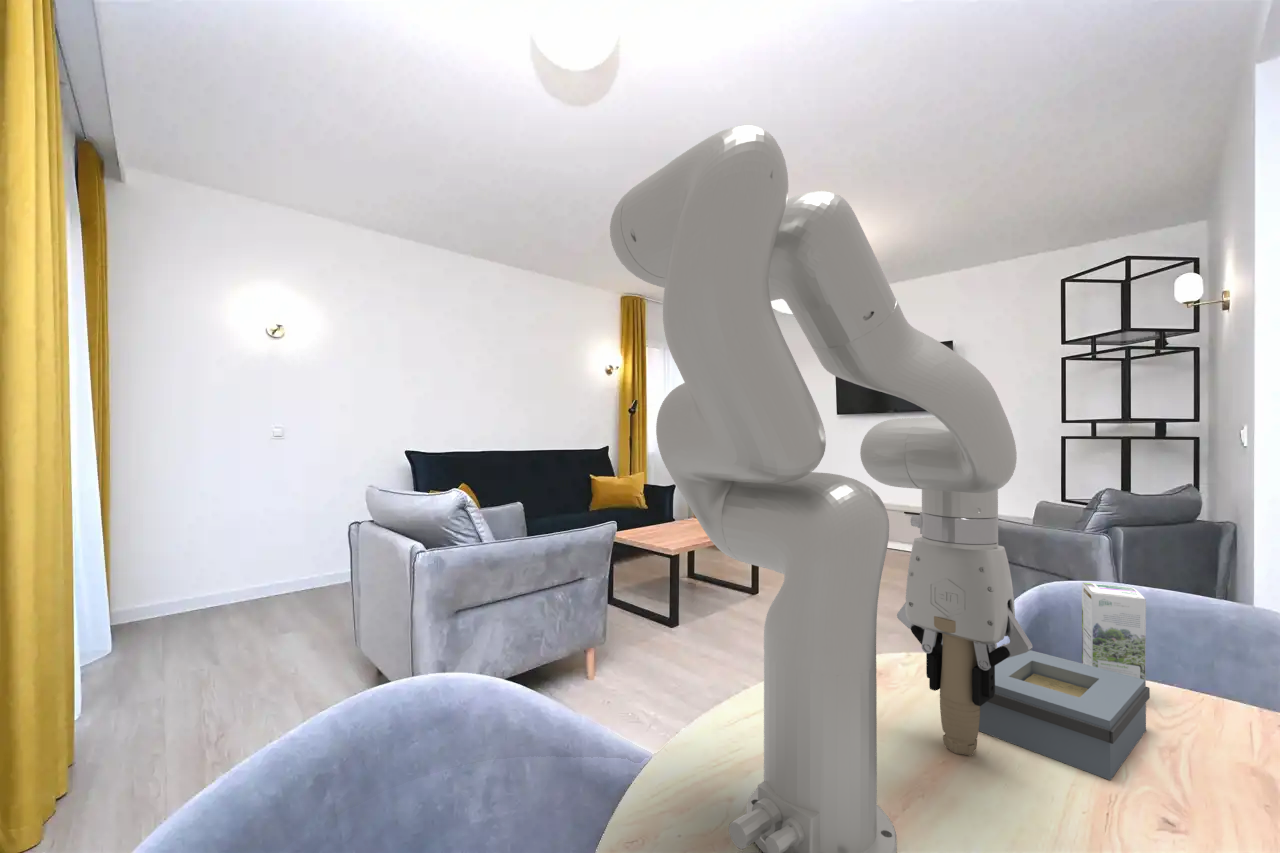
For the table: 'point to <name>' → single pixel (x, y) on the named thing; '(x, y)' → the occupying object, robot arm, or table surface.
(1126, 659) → the syrup box
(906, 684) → the table surface
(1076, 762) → the collar block
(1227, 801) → the table surface
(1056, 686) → the plate
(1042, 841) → the table surface
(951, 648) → the handle
